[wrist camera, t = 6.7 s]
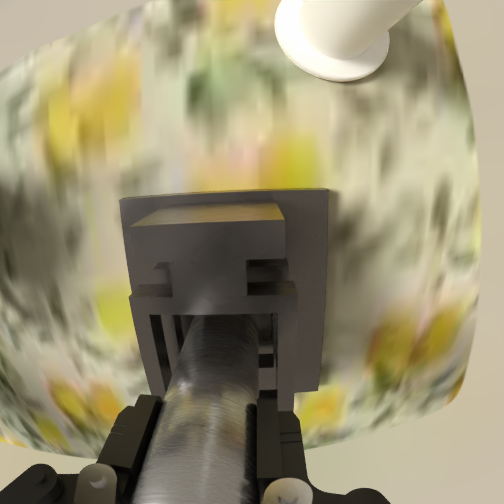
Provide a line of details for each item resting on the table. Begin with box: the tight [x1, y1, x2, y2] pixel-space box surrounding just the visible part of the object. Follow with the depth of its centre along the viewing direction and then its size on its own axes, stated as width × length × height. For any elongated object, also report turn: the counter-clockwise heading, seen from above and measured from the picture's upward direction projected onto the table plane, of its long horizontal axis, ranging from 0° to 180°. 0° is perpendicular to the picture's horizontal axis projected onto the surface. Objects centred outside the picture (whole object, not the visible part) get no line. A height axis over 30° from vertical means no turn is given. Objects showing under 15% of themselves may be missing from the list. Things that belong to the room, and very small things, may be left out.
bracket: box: [119, 188, 328, 411], centre depth 17 cm, size 12×14×7 cm
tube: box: [130, 314, 260, 504], centre depth 10 cm, size 4×4×14 cm
